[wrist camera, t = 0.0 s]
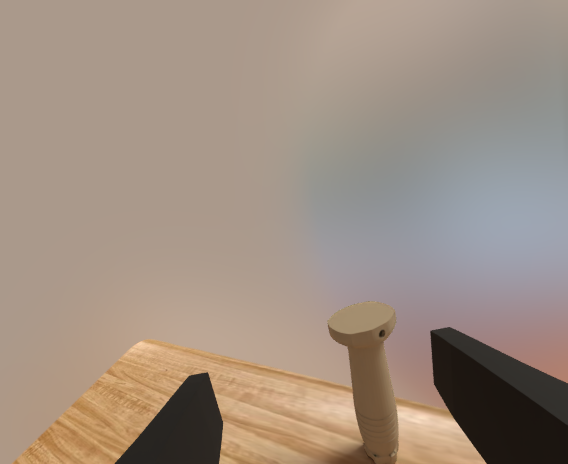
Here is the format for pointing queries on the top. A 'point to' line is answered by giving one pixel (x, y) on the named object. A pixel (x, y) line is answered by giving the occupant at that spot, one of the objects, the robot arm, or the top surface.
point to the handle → (370, 374)
